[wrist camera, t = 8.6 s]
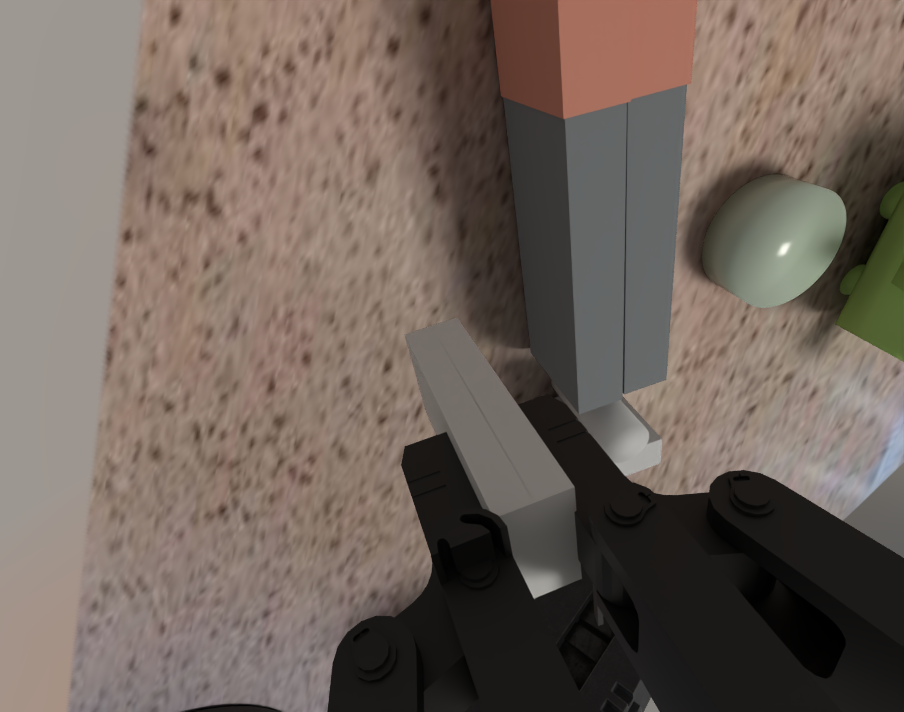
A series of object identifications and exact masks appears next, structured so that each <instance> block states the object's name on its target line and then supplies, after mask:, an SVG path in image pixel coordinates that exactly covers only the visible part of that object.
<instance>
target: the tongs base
mask: <svg viewBox="0 0 904 712" xmlns="http://www.w3.org/2000/svg"><path fill="white" fill-rule="evenodd" d="M696 11H697V0H633V25H632V77H631V102H627V130H626V196H625V262H624V327H623V393H624V394H627V393H630V392H632V391H635V390H638V389H641V388H644V387H647V386H650V385H652V384H655V383H658V382H661V381H664V380H666V375H667V361H668V347H669V333H670V318H671V304H672V290H673V276H674V261H675V247H676V233H677V218H678V204H679V190H680V176H681V161H682V147H683V133H684V119H685V104H686V90H687V84H690V83H691V78H692V65H693V51H694V38H695V24H696ZM551 383H552V387H553V388H554V390H555V391H556V392H557V394H558V395H559V396H558V397H555V398H556V399H557V400H559V401H561V402H563V403H565V404H566V405H567V406H568V407H569V408H570V410H571V411H572V412H573V413H574V414H575V416H576V417H577V418H578V421H579V422H581V423H582V424H583V425H584V427H585V428H586V429H587V430H588V433H590V434H591V435H592V436H593V438H594V439H595V440H596V441H597V442H598V444H599V445H600V446H601V447H602V449H603V450H604V451H605V452H606V453H607V455H608V456H609V457H610V458H611V459H612V461H613V462H614V463H615V464H616V466H617V467H618V468H619V469H620V470H621V472H622V473H623V474H624V475H625V476H627V475H630V474H633V473H635V472H638V471H641V470H643V469H646V468H649V467H652V466H654V465H657V464H660V461H661V447H662V438H661V437H660V436H659V435H658V434H657V433H656V432H655V431H654V430H653V429H652V428H651V426H650V425H649V424H648V423H647V422H646V421H645V420H644V419H643V418H642V417H641V416H640V415H639V413H638V412H637V411H636V410H635V409H634V408H633V407H632V406H631V405H630V404H629V403H628V402H627V401H626V399H625V398H624V397H623V396H622V400H619V401H616V402H614V403H611V404H608V405H605V406H602V407H599V408H596V409H593V410H590V411H588V412H585V413H582V414H578V412H577V411H576V410H575V409H574V407H573V406H572V405H571V404H570V402H569V401H568V400H567V398H566V397H565V396H564V395H563V393H562V392H561V391H560V389H559V388H558V387H557V386H556V384H555V383H554V382H553V380H551Z"/></svg>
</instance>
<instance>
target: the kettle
mask: <svg viewBox="0 0 904 712" xmlns="http://www.w3.org/2000/svg"><path fill="white" fill-rule="evenodd" d="M879 211H880V215H881V216H882V217H884V218H887V219H889V220H888V222H887V224H886V226H885V228H884V230H883V232H882V234H881V236H880V238H879V240H878V242H877V244H876V246H875V248H874V250H873V251H872V253H871V255H870V257H869V259H868V261H867V263H866V265H858V266H856V267H854V268H852V269H851V270H850V271H849V272H848V273H847V274H846V275H845V276H844V278H843V279H842V281H841V284H840V292H841V293H842V294H844V295H850V296H849V298H848V300H847V302H846V304H845V306H844V308H843V310H842V312H841V314H840V316H839V318H838V319H837V321H836V323H835V324H836V325H838V326H840V327H841V328H843V329H845V330H847V331H849V332H850V333H852V334H854V335H856V336H858V337H860V338H861V339H863V340H865V341H867V342H869V343H870V344H872V345H874V346H876V347H878V348H880V349H881V350H883V351H885V352H887V353H889V354H890V355H892V356H894V357H896V358H898V359H900V360H901V361H903V362H904V182H901V183H898V184H896V185H895V186H893V187H892V188H891V189H890V190H889V191H888V192H887V193H886V195H885V196H884V198H883V199H882V201H881V204H880V209H879Z"/></svg>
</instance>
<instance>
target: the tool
mask: <svg viewBox="0 0 904 712" xmlns="http://www.w3.org/2000/svg"><path fill="white" fill-rule="evenodd" d="M581 575H582V579H580V580H577V581H575V582H573V583H570V584H568V585H565V586H563V587H561V588H558V589H556V590H553V591H551V592H549V593H546V594H544V595H541V596H539V597H537V598H536V599H535V602H536V604H537V606H538V608H539V610H540V612H541V614H542V616H543V618H544V620H545V622H546V624H547V626H548V628H549V631H550V633H551V635H552V637H553V639H554V641H555V643H556V645H557V647H558V649H559V651H560V653H561V655H562V657H563V659H564V661H565V663H566V665H567V667H568V669H569V671H570V673H571V675H572V677H573V680H574V682H575V684H576V686H577V688H578V690H579V692H580V694H581V696H582V698H583V700H584V702H585V704H586V706H587V708H588V710H589V712H644V710H645V708H646V706H647V704H648V702H649V700H650V698H651V696H650V694H649V692H648V691H647V689H646V687H645V686H644V684H643V682H642V680H641V679H640V677H639V675H638V674H637V672H636V670H635V669H634V667H633V665H632V663H631V662H630V660H629V658H628V657H627V655H626V653H625V651H624V650H623V648H622V646H621V645H620V643H619V641H618V640H617V638H616V636H615V634H614V633H613V631H612V629H611V628H610V626H609V624H608V622H607V621H606V619H605V617H604V616H603V624H602V625H600V626H598V624H597V621H596V618H595V615H594V599H593V583H592V581H591V580H590V578H589V576H588V575H587V573H586V571H585V570H584V568H583V566H582V565H581ZM465 712H483V709H482V706H481V703H480V700H479V698H478V699H477V700H476V701H475V702H474V703H473V704H472V705H471V706H470V707H469V708H468V709H467V710H466V711H465Z"/></svg>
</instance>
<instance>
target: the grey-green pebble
mask: <svg viewBox="0 0 904 712" xmlns="http://www.w3.org/2000/svg"><path fill="white" fill-rule="evenodd" d="M845 228H846V210H845V206H844V203H843V201H842V200H841V198H840V197H839V196H838V195H837V194H836V193H835V192H833V191H832V190H829V189H826V188H823V187H820V186H817V185H814V184H810V183H807V182H804V181H801V180H798V179H795V178H792V177H788V176H785V175H781V174H770V175H766V176H762V177H759V178H756V179H754V180H752V181H750V182H748V183H747V184H745V185H744V186H742V187H741V188H740V189H738V190H737V191H736V192H734V193H733V194H732V195H731V196H730V197H729V198H728V199H727V200H726V202H725V203H724V204H723V205H722V206H721V208H720V209H719V210H718V212H717V213H716V215H715V216H714V218H713V220H712V221H711V223H710V225H709V227H708V230H707V232H706V235H705V238H704V242H703V248H702V264H703V268H704V271H705V273H706V275H707V276H708V278H709V279H710V280H711V281H712V282H713V283H715V284H717V285H718V286H720V287H722V288H723V289H725V290H727V291H728V292H730V293H731V294H733V295H735V296H736V297H738V298H740V299H741V300H743V301H745V302H746V303H748V304H750V305H752V306H755V307H760V308H768V307H774V306H778V305H781V304H784V303H786V302H788V301H790V300H792V299H794V298H795V297H797V296H799V295H800V294H801V293H803V292H804V291H805V290H807V289H808V288H809V287H810V286H811V285H812V284H814V283H815V282H816V281H817V279H818V278H819V277H820V276H821V275H822V274H823V273H824V272H825V270H826V269H827V268H828V266H829V265H830V263H831V262H832V260H833V259H834V257H835V255H836V253H837V251H838V249H839V247H840V245H841V242H842V239H843V236H844V232H845Z"/></svg>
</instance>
